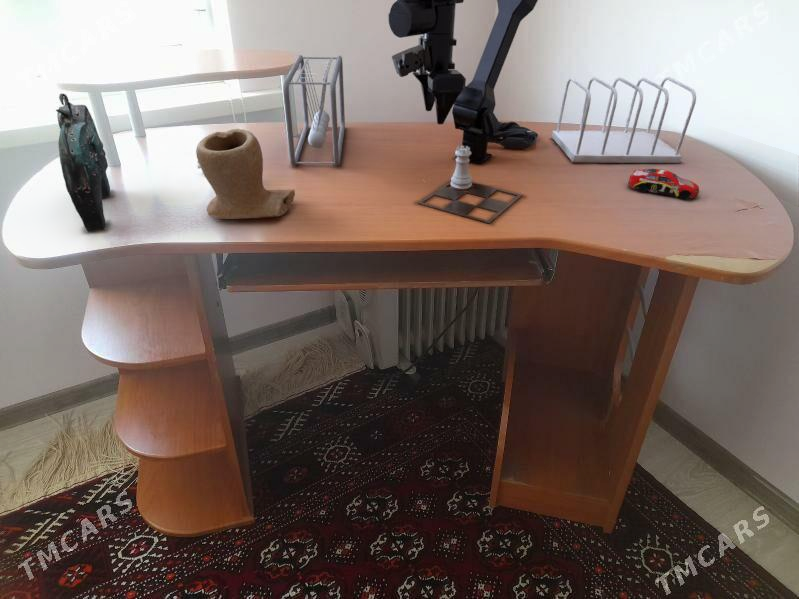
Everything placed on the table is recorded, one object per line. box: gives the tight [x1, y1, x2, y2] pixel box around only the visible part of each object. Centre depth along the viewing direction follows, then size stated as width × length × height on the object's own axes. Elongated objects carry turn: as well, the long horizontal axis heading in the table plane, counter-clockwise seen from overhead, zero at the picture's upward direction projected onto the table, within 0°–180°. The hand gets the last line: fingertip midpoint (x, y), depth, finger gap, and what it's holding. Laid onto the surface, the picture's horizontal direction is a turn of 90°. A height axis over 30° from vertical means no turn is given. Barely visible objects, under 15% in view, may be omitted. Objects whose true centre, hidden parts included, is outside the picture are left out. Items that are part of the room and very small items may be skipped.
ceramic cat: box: [55, 93, 111, 233], centre depth 94 cm, size 20×6×20 cm, turn 21°
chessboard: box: [417, 180, 523, 225], centre depth 106 cm, size 15×15×1 cm
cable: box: [488, 121, 539, 150], centre depth 134 cm, size 17×14×4 cm
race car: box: [627, 168, 700, 201], centre depth 109 cm, size 13×5×4 cm, turn 63°
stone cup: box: [195, 128, 296, 220], centre depth 95 cm, size 15×12×15 cm
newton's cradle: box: [282, 54, 346, 167], centre depth 125 cm, size 30×10×18 cm, turn 2°
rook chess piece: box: [449, 145, 473, 191], centre depth 108 cm, size 4×4×8 cm
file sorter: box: [551, 76, 697, 164], centre depth 126 cm, size 25×17×16 cm
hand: (434, 117), depth 109 cm, fingers open, 9 cm apart
